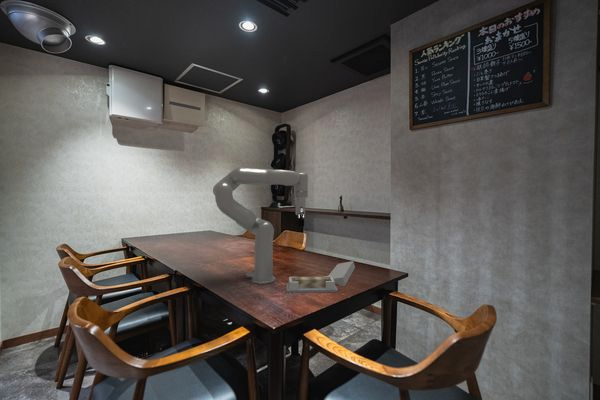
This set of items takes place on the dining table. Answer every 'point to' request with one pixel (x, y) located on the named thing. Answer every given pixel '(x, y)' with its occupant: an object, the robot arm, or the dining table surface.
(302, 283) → the slat
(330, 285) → the cradle
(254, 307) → the dining table surface
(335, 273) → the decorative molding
